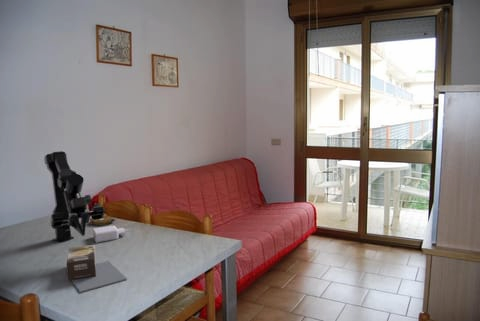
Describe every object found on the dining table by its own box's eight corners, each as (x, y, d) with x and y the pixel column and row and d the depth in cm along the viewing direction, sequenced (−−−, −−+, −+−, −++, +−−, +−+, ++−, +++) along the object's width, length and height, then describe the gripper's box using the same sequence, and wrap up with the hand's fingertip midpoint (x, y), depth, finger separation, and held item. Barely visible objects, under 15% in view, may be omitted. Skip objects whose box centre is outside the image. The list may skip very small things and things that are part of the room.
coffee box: (94, 244, 143) (95, 258, 128) (96, 260, 144) (97, 276, 129) (68, 247, 140) (66, 263, 125) (69, 264, 140) (67, 281, 126)
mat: (65, 272, 134) (65, 271, 134) (108, 262, 143) (108, 260, 143) (80, 293, 118) (80, 291, 118) (126, 279, 127) (126, 278, 127)
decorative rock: (85, 223, 199) (97, 229, 188) (84, 215, 198) (96, 222, 188) (105, 217, 207) (118, 223, 196) (105, 210, 206) (117, 216, 195)
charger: (131, 237, 172) (96, 243, 165) (126, 232, 180) (93, 237, 173) (130, 227, 172) (95, 233, 165) (126, 222, 180) (92, 227, 173)
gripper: (49, 192, 136) (58, 228, 128) (101, 185, 147) (112, 218, 139) (47, 209, 143) (55, 244, 136) (97, 201, 154) (107, 234, 147)
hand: (83, 235), depth 139 cm, fingers closed
